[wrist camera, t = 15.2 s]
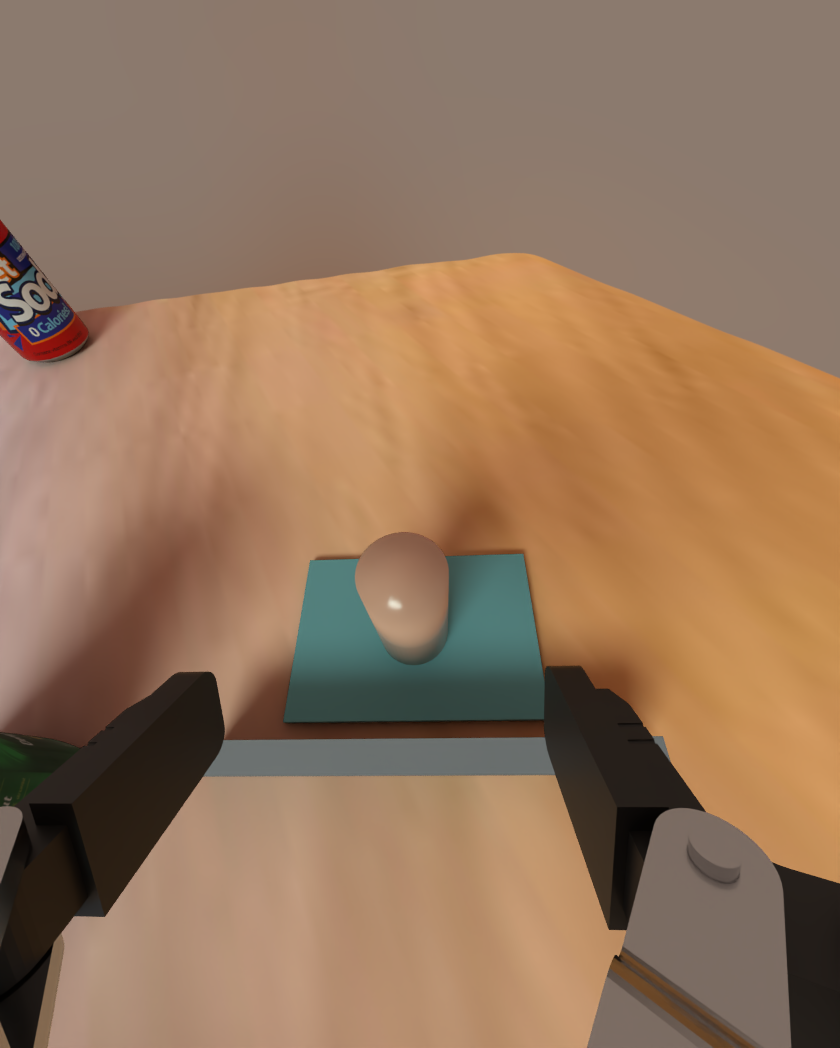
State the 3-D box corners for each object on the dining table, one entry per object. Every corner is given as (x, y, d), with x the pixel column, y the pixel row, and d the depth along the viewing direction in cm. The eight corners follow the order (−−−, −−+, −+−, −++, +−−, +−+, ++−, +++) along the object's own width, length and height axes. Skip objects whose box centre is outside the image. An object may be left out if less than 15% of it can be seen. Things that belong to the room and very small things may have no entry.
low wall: (622, 743, 23) (662, 736, 18) (630, 774, 22) (674, 774, 18) (218, 747, 24) (168, 740, 20) (211, 776, 23) (158, 776, 19)
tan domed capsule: (440, 593, 28) (438, 525, 20) (454, 657, 25) (458, 607, 18) (377, 605, 27) (351, 540, 20) (385, 671, 25) (359, 626, 17)
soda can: (42, 334, 51) (-90, 190, 39) (102, 327, 51) (-10, 181, 39) (16, 371, 47) (-143, 223, 34) (81, 363, 47) (-52, 212, 34)
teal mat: (521, 557, 29) (523, 553, 29) (548, 720, 23) (550, 718, 23) (312, 564, 30) (310, 560, 30) (286, 723, 24) (283, 721, 24)
